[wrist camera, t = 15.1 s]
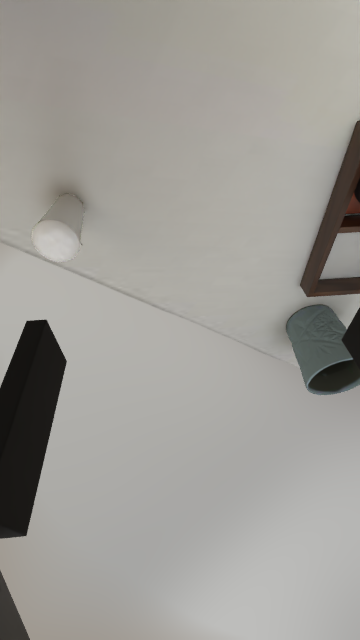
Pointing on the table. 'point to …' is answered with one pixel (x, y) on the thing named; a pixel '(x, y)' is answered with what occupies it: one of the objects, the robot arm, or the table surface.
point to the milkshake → (60, 229)
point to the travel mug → (357, 191)
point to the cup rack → (336, 227)
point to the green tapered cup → (322, 351)
